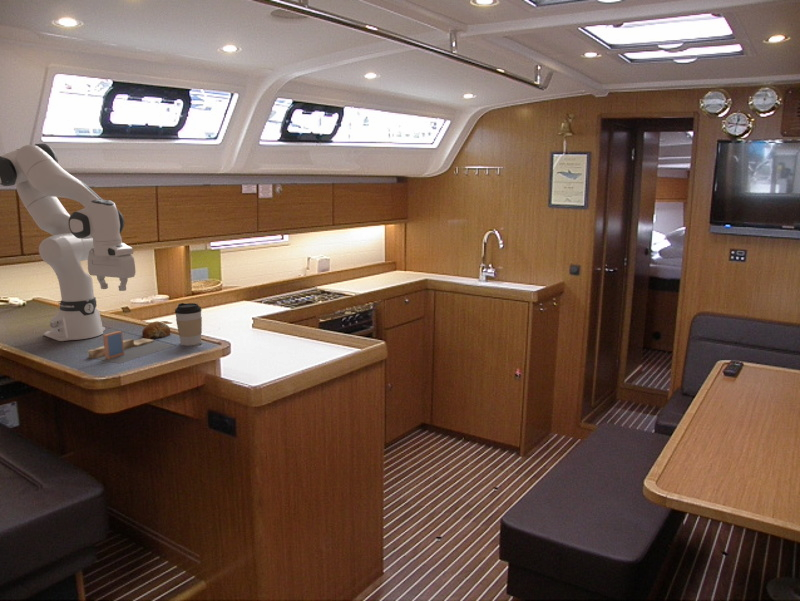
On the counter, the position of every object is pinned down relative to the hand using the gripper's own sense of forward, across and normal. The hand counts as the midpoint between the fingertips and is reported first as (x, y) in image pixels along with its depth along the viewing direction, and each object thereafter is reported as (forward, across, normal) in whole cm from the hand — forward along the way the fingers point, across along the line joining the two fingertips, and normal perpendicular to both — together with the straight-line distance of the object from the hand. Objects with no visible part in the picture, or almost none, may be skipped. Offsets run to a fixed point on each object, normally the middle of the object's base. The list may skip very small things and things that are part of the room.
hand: (113, 289), depth 218 cm
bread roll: (+22, -4, +19) cm, 29 cm away
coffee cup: (+22, +15, +17) cm, 32 cm away
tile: (+21, +6, -7) cm, 23 cm away
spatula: (+21, 0, 0) cm, 21 cm away
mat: (+22, +6, 0) cm, 23 cm away
